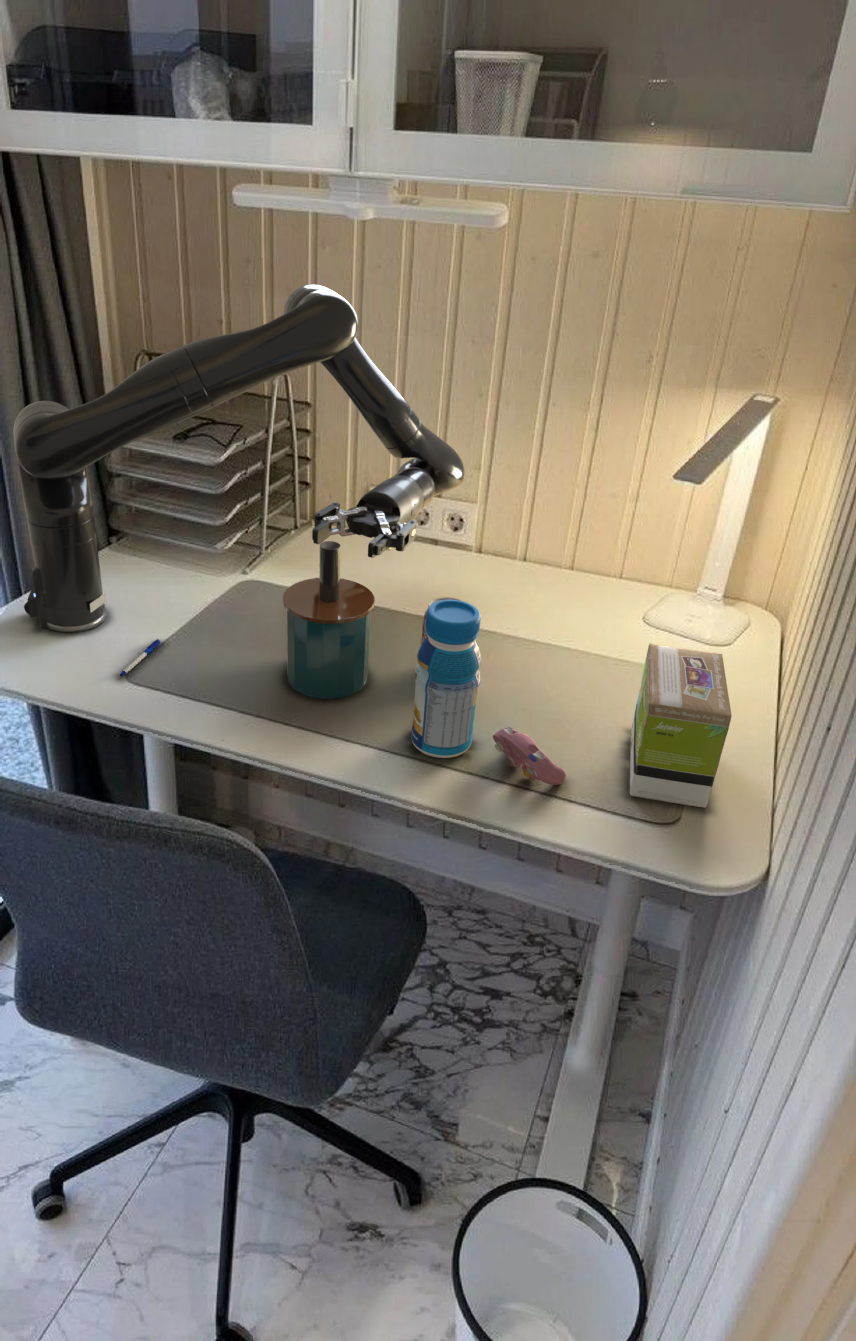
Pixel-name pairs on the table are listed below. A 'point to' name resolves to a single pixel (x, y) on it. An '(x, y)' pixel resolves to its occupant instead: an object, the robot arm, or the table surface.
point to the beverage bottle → (447, 680)
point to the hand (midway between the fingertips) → (342, 544)
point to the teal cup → (327, 657)
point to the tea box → (679, 725)
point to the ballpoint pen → (141, 656)
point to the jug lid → (329, 593)
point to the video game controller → (528, 756)
